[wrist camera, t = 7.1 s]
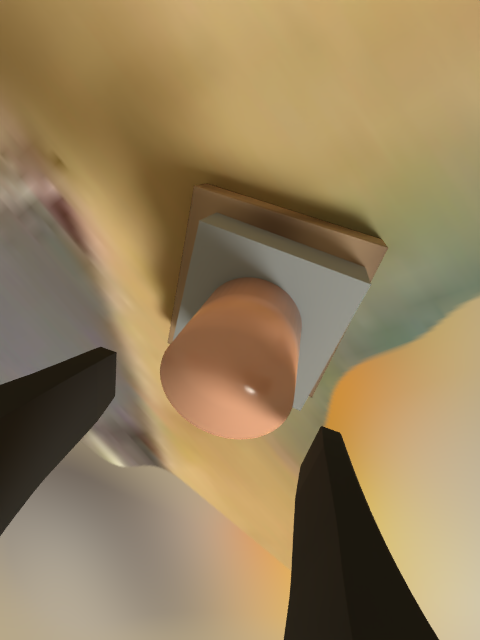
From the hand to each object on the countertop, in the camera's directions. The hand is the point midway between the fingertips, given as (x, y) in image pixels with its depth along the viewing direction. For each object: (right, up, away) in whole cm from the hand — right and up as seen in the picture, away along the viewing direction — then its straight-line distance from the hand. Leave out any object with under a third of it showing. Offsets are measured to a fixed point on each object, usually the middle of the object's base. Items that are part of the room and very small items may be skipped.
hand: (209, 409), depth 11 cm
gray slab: (+2, +4, +7) cm, 9 cm away
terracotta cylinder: (+2, +3, +5) cm, 6 cm away
